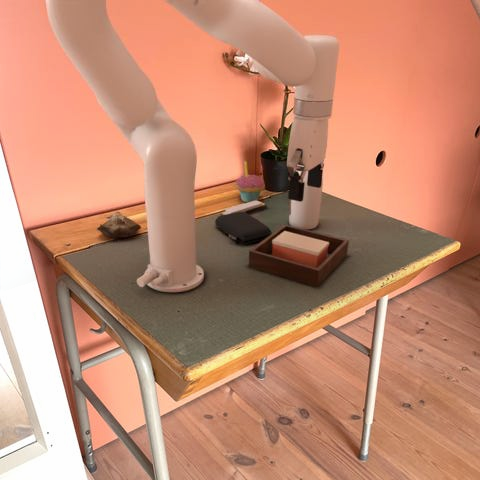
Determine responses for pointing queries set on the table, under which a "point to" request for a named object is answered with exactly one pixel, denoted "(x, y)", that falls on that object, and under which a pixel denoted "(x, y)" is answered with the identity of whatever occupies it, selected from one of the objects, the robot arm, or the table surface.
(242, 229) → the carrying case
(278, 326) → the table surface
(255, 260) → the wooden box
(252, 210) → the harmonica
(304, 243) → the lunchbox
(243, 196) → the cupcake
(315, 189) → the milk bottle
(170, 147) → the robot arm
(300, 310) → the table surface
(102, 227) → the fossilized seashell
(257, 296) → the table surface
